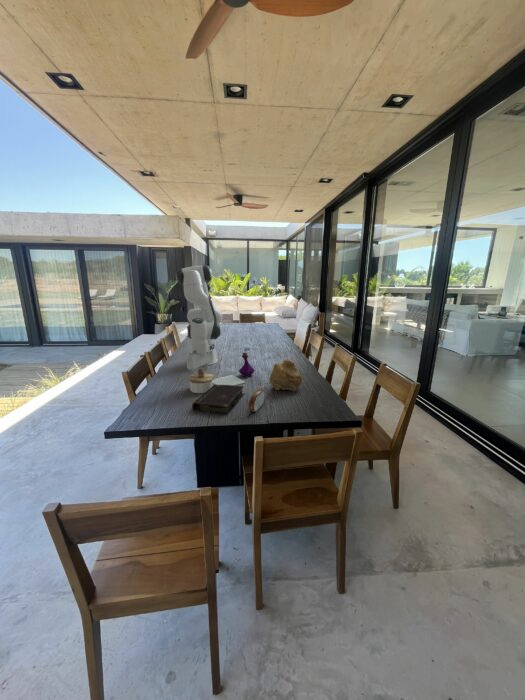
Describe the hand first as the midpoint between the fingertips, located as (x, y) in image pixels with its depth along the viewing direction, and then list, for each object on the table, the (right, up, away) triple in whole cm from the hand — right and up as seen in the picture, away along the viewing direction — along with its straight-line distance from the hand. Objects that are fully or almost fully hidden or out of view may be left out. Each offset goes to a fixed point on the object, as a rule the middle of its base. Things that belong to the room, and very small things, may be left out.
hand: (200, 373), depth 163 cm
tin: (+32, -15, -21) cm, 41 cm away
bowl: (0, -9, +2) cm, 9 cm away
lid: (0, -3, +1) cm, 3 cm away
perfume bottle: (+24, -4, +25) cm, 35 cm away
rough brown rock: (+48, -9, +5) cm, 49 cm away
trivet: (+13, -6, +13) cm, 19 cm away
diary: (+13, -14, -14) cm, 24 cm away
